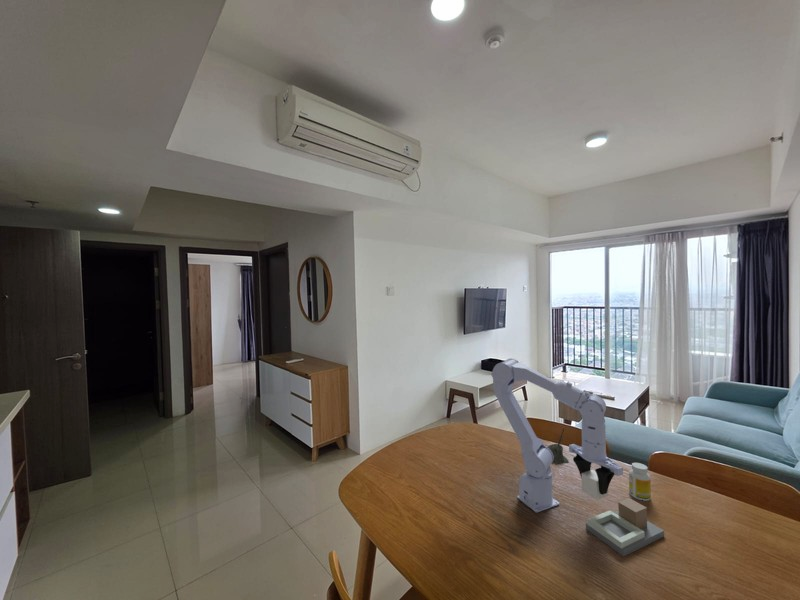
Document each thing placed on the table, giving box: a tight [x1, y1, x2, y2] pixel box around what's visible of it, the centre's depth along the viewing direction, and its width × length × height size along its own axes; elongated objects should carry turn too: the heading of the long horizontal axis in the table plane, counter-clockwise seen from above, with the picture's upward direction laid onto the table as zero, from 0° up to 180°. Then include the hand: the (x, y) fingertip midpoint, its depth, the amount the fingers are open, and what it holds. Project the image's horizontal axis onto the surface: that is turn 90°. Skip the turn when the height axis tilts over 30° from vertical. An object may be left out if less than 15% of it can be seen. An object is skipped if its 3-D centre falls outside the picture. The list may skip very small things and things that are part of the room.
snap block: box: [580, 469, 609, 501], centre depth 89 cm, size 4×4×5 cm
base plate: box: [585, 497, 665, 557], centre depth 84 cm, size 16×10×6 cm, turn 112°
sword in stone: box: [546, 427, 570, 464], centre depth 124 cm, size 10×8×12 cm
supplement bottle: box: [628, 462, 652, 502], centre depth 99 cm, size 5×5×10 cm
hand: (594, 488), depth 89 cm, fingers closed on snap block, 4 cm apart
